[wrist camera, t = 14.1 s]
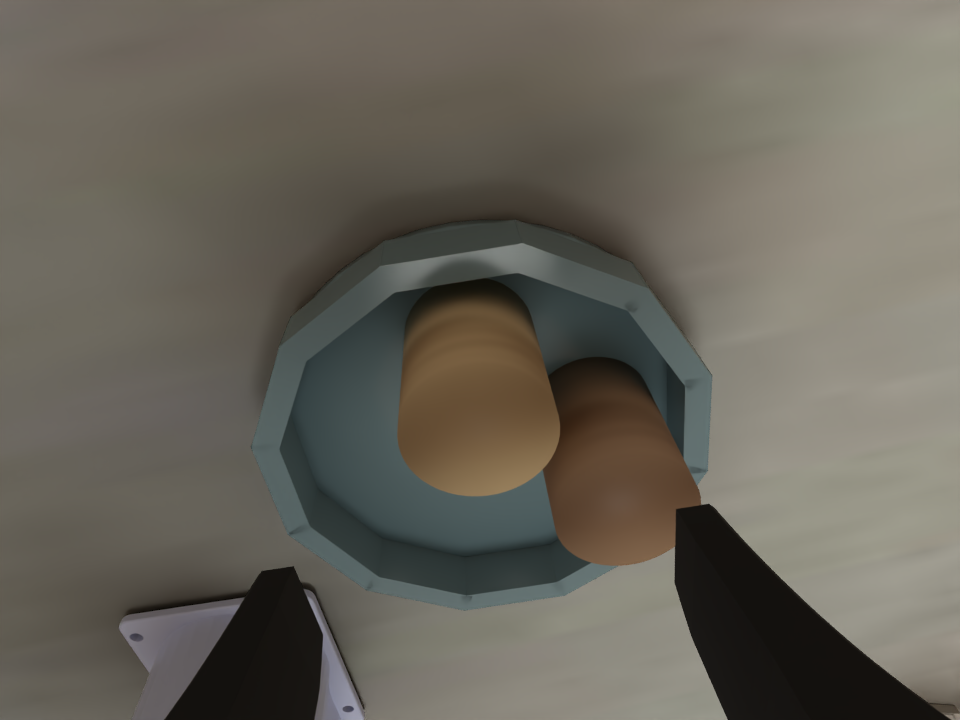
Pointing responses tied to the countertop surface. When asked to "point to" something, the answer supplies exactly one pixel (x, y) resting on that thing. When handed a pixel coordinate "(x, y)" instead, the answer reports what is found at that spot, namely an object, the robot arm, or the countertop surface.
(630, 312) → the ring dish
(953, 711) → the skyscraper
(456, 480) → the oak bead
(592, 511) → the walnut bead
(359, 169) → the countertop surface
